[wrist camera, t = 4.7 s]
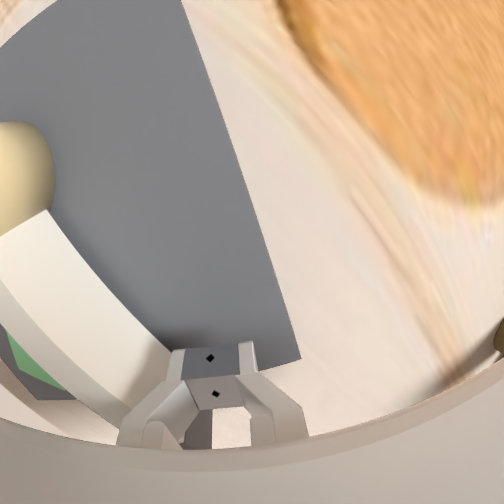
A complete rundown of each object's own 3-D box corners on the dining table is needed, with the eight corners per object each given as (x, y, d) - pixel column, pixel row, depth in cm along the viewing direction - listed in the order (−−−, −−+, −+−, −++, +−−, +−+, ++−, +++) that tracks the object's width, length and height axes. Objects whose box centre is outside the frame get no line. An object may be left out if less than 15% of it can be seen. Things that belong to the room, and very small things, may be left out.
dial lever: (-28, 175, 8) (-93, 204, 4) (21, 96, 7) (-59, 98, 3) (165, 402, 14) (154, 471, 10) (238, 372, 13) (243, 454, 9)
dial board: (-71, 160, 8) (-86, 165, 6) (166, -37, 7) (158, -56, 5) (45, 388, 16) (37, 404, 14) (296, 342, 15) (303, 365, 13)
